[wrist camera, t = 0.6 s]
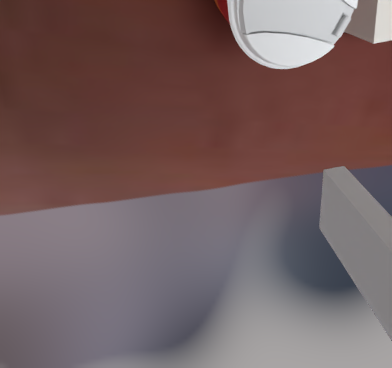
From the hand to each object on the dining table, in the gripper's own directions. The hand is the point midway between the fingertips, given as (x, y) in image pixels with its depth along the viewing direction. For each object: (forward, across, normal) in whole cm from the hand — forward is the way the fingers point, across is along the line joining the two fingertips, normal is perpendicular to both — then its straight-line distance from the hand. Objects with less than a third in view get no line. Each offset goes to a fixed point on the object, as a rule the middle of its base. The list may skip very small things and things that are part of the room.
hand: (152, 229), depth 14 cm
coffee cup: (+28, +10, +5) cm, 30 cm away
